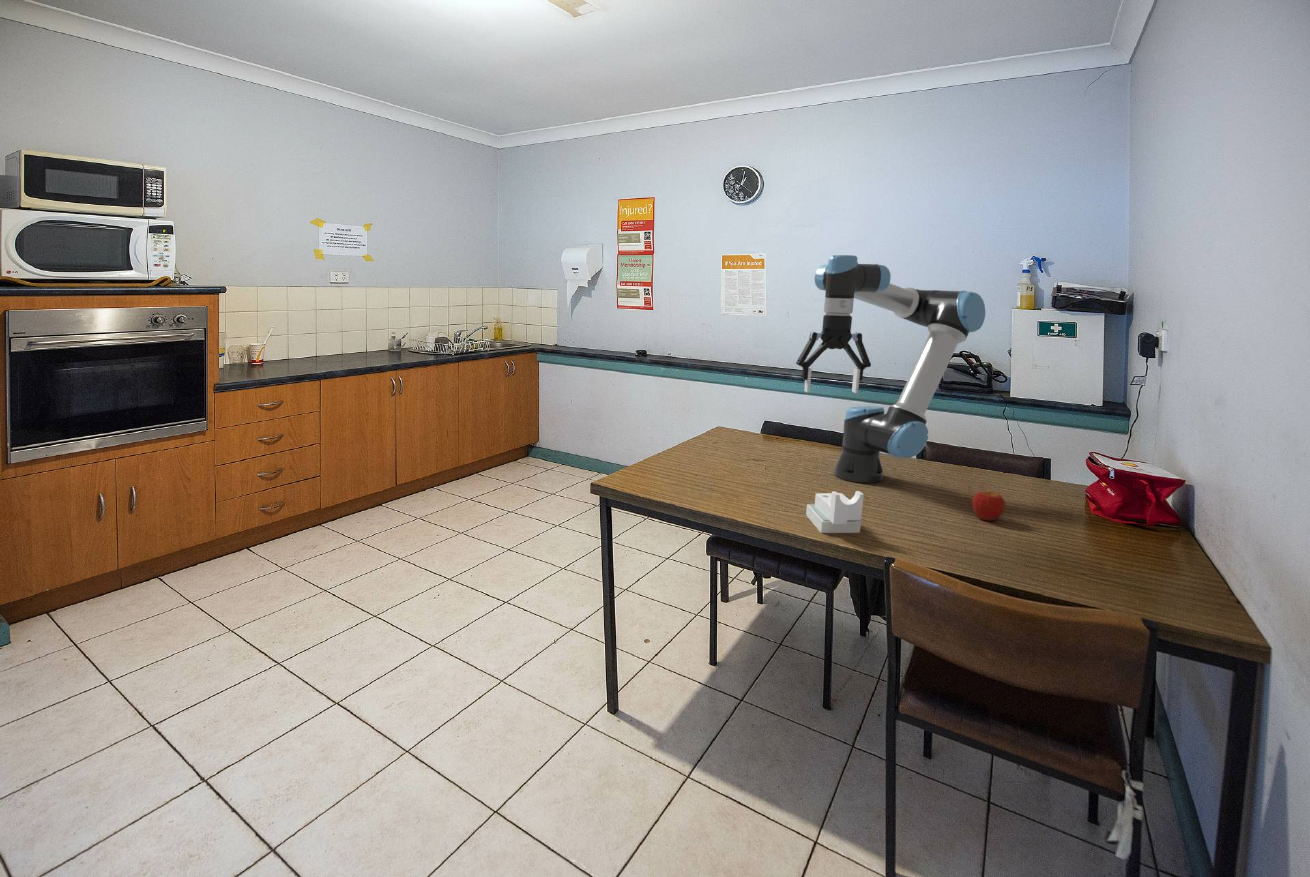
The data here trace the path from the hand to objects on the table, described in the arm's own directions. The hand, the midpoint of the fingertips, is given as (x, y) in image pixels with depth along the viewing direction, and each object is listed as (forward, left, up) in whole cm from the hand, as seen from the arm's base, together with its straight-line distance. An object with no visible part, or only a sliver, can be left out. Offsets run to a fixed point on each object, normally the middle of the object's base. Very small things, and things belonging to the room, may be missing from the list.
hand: (830, 392), depth 182 cm
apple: (-41, +15, -32) cm, 54 cm away
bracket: (+3, +21, -29) cm, 35 cm away
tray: (+3, +19, -32) cm, 37 cm away
